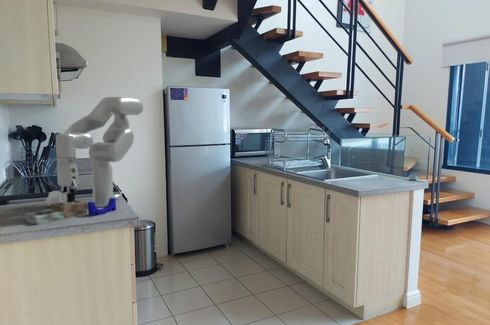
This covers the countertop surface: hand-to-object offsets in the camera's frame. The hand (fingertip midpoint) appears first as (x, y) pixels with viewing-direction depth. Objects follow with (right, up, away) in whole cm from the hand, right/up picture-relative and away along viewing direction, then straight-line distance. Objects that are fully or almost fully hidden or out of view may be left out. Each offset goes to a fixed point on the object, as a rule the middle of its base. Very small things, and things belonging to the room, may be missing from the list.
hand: (68, 200), depth 156 cm
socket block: (-3, -7, -4) cm, 8 cm away
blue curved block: (+14, -6, +4) cm, 16 cm away
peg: (0, -6, +1) cm, 6 cm away
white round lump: (-14, -5, +15) cm, 22 cm away
